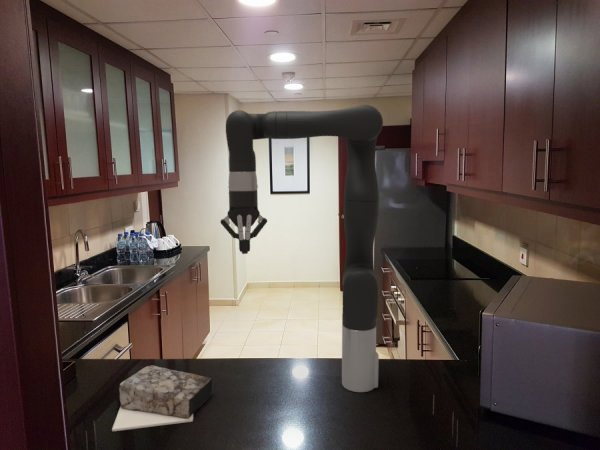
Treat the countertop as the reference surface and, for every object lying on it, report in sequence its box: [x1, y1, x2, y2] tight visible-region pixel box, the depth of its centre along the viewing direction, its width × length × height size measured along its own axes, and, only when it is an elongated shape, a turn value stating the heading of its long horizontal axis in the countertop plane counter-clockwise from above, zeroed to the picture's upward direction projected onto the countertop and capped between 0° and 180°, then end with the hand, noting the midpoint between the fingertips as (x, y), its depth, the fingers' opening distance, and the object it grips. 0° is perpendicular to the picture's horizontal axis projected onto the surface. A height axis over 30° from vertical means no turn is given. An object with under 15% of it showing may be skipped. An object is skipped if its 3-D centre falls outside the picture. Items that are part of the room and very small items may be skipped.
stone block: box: [118, 365, 215, 418], centre depth 110 cm, size 13×7×20 cm
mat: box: [111, 405, 194, 432], centre depth 106 cm, size 18×11×1 cm, turn 102°
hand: (244, 253), depth 116 cm, fingers closed
